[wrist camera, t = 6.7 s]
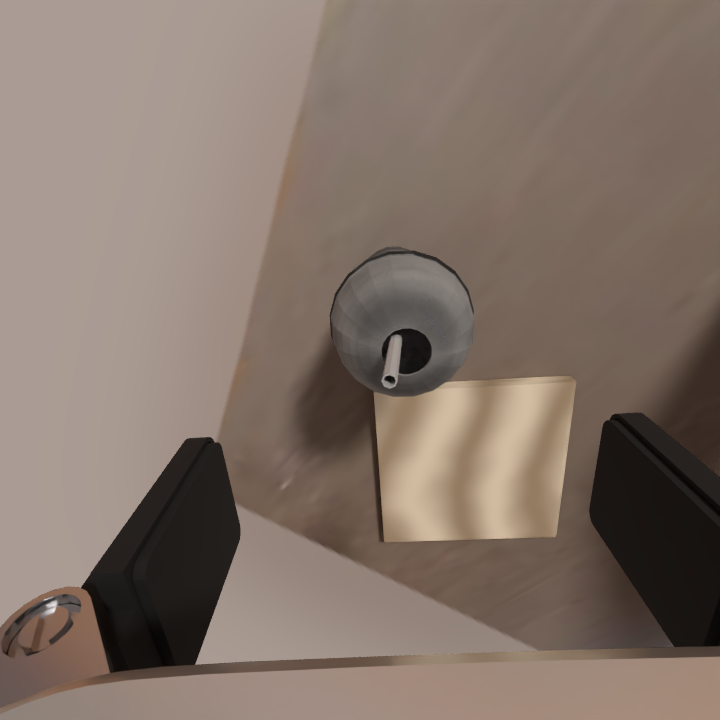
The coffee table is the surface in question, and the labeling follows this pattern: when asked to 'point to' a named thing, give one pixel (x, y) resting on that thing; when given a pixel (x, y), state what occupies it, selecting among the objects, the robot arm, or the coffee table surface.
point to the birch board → (474, 459)
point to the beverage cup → (402, 322)
